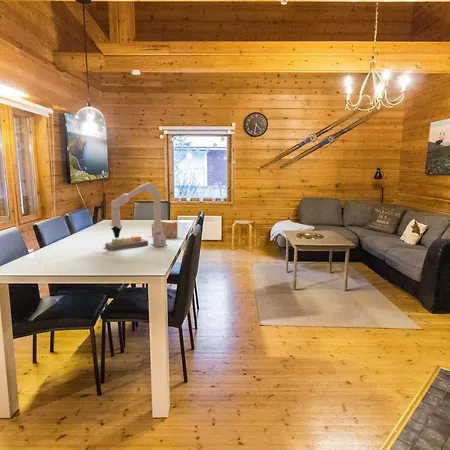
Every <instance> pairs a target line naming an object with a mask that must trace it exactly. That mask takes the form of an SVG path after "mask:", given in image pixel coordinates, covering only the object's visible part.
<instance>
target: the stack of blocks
mask: <svg viewBox="0 0 450 450" xmlns="http://www.w3.org/2000/svg"><path fill="white" fill-rule="evenodd" d="M161 221H162V226H163V234H164V235H165V236H166V238H168V237H171V238H170V239H175V238H178V237H177V236H178V221H174V220H161ZM153 224H154V223H152V224H151V236H153V231H154V229H153ZM174 237H175V238H174Z"/></svg>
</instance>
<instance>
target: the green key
mask: <svg viewBox="0 0 450 450" xmlns="http://www.w3.org/2000/svg"><path fill="white" fill-rule="evenodd" d="M111 242H112V244H115V245H116V244H122V238H120V237H119V238H112V239H111Z"/></svg>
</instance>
